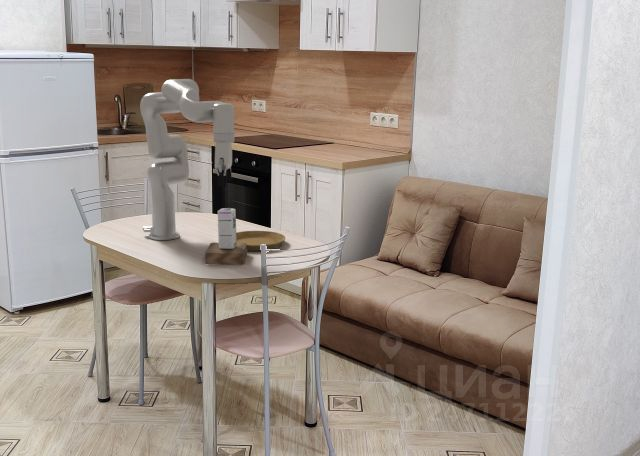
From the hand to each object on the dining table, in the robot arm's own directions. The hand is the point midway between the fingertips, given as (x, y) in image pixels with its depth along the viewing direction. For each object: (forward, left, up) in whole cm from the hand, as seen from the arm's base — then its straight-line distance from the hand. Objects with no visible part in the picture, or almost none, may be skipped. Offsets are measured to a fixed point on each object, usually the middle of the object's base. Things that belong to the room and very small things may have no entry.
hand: (224, 183), depth 266 cm
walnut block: (0, 0, -30) cm, 30 cm away
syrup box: (+1, 0, -24) cm, 24 cm away
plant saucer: (+8, +22, -30) cm, 38 cm away
